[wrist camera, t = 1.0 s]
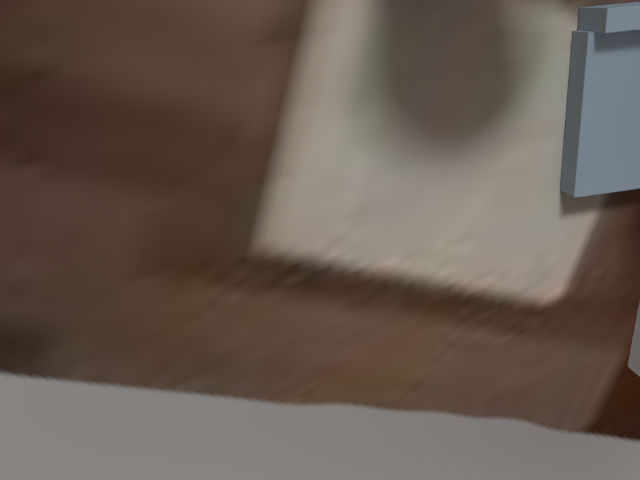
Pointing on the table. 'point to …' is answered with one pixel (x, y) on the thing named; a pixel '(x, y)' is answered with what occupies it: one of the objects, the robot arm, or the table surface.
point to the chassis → (603, 102)
